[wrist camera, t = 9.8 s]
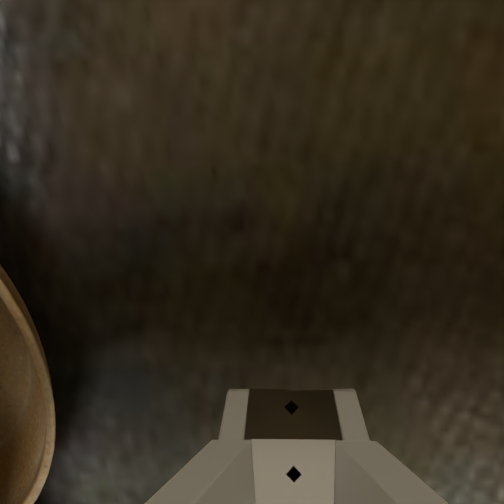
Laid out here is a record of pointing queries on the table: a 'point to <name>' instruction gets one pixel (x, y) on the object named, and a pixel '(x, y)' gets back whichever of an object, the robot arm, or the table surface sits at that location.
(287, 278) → the table surface
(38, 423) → the plant saucer
